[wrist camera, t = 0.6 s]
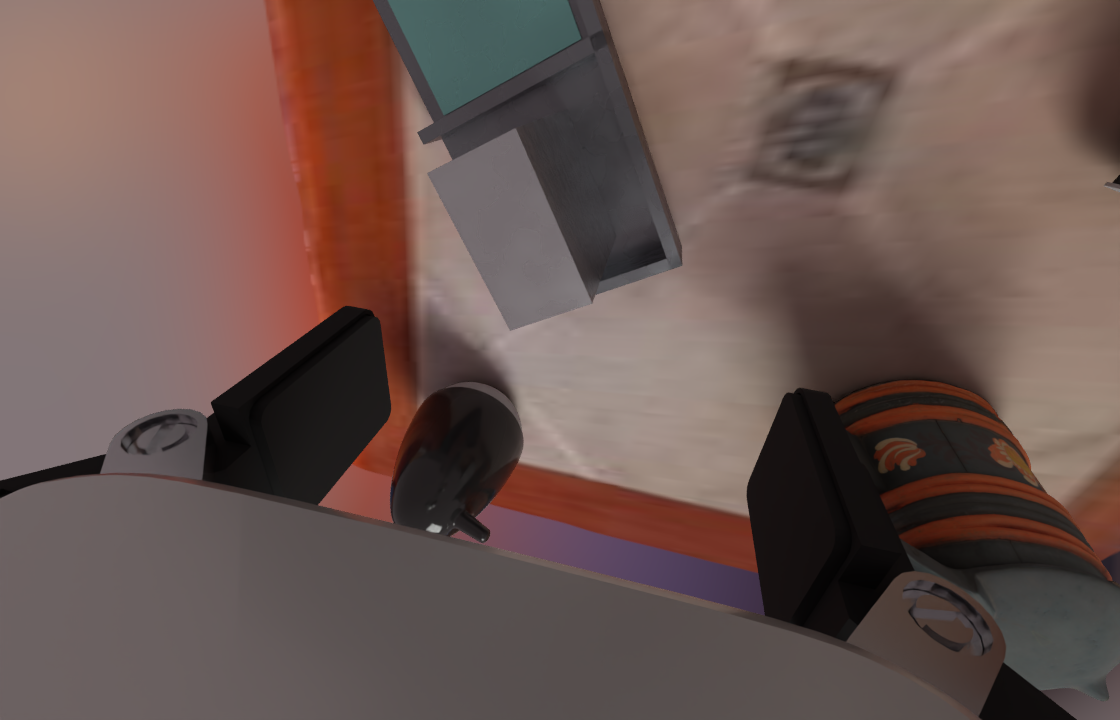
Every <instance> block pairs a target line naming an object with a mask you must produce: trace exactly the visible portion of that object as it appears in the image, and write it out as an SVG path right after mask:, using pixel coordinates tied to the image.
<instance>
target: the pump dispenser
mask: <svg viewBox="0 0 1120 720" xmlns="http://www.w3.org/2000/svg"><path fill="white" fill-rule="evenodd" d="M523 443H524V442H523V433H522V427H521V421H520V418H519V415H518V412H517V410H516V409H515V407H514V405H513V404H512V402H511V401H510V400H509V399H508V398H507V397H506V396H505V395H504V394H503V393H501V392H500V391H498V390H497V389H495V388H493V387H491V386H489V385H486V384H482V383H477V382H462V383H457V384H454V385H451V386H448V387H446V388H444V389H441V390H438V391H436V392H434V393H433V394H431V395H430V396H429V397H428V398H427V399H426V400H425V401H424V402H423V403H422V405H421V406H420V407H419V409H418V411H417V412H416V414H415V416H414V418H413V419H412V421H411V423H410V425H409V427H408V429H407V431H406V434H405V436H404V438H403V441H402V443H401V446H400V449H399V452H398V455H397V459H396V462H395V467H394V471H393V477H392V483H391V492H390V509H391V516H392V520H393V522H394V523H395V524H399V525H403V526H407V527H411V528H415V529H420V530H424V531H428V532H432V533H436V534H440V535H444V536H449V537H450V536H452V535H454V534H455V533H457V532H458V531H462V532H464V533H465V534H467V535H469V536H471V537H472V538H474V539H476V540H477V541H479V542H481V543H484V542H486V541H487V540H488V539H489V537H490V530H489V529H488V528H487V527H485V526H484V525H482V523H480V522H479V521H478V520H477V519H476V518H475V517H476V516H478V515H479V514H480V513H481V512H482V511H483V510H484V509H485V508H486V506H488V505H489V503H490V502H491V501H492V500H493V499H494V498H495V497H496V495H497V494H498V493H499V491H500V490H501V489H502V487H503V486H504V485H505V483H506V482H507V480H508V478H509V477H510V475H511V474H512V472H513V470H514V469H515V467H516V465H517V463H518V461H519V459H520V456H521V454H522V450H523Z"/></svg>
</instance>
